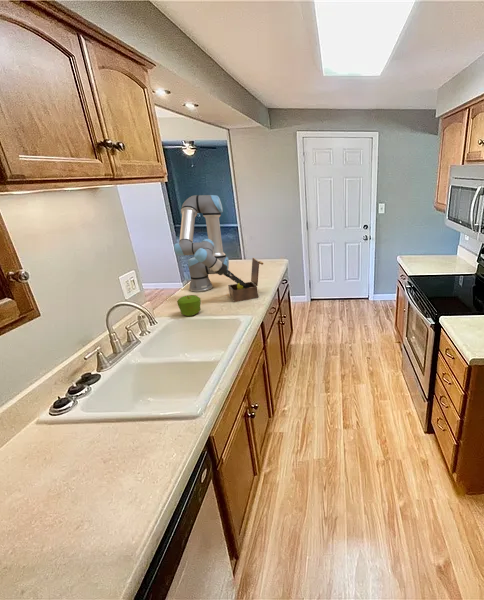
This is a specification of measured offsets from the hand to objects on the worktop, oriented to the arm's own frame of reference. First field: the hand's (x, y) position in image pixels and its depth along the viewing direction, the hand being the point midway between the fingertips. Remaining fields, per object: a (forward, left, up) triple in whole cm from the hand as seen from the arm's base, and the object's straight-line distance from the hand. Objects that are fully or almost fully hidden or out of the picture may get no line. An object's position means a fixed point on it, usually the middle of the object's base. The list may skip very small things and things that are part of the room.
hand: (245, 286), depth 220 cm
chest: (+1, -2, -7) cm, 7 cm away
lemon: (+1, -3, -4) cm, 5 cm away
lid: (+1, +7, +9) cm, 12 cm away
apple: (+15, -36, -7) cm, 40 cm away
